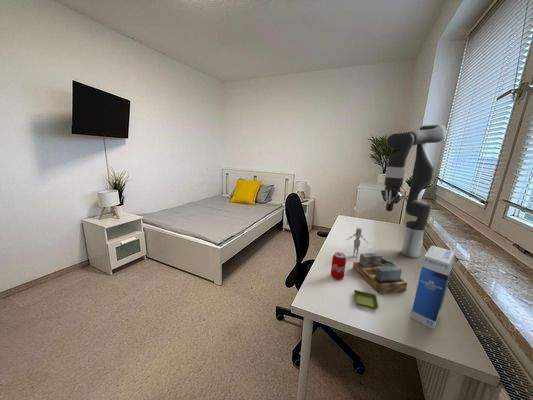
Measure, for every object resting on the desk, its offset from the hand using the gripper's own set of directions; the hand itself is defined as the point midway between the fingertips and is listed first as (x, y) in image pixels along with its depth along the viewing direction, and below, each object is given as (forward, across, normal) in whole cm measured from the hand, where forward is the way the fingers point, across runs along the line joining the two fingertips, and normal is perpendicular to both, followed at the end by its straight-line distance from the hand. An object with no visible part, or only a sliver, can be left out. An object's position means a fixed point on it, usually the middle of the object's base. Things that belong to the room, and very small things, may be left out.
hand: (388, 210), depth 106 cm
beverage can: (+32, -5, +27) cm, 42 cm away
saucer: (+32, -23, +24) cm, 46 cm away
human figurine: (+32, +13, +6) cm, 35 cm away
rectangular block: (+30, -15, +8) cm, 35 cm away
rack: (+32, -9, +8) cm, 34 cm away
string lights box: (+32, -33, +5) cm, 46 cm away
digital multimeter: (+33, +4, -3) cm, 33 cm away
